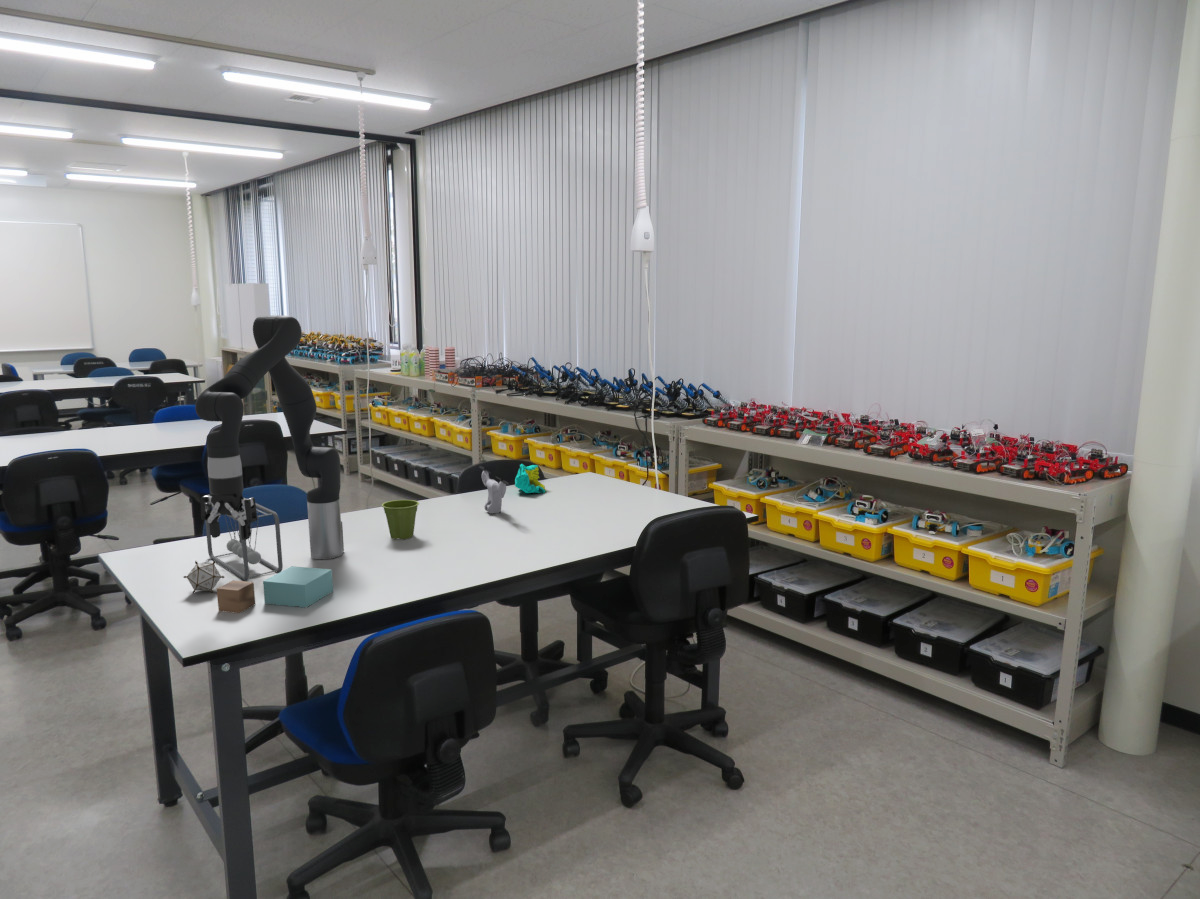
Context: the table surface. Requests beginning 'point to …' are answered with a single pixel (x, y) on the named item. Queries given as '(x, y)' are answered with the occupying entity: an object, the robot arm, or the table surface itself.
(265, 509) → the newton's cradle
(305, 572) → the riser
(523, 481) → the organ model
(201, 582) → the game die
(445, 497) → the table surface
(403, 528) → the plant pot
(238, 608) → the walnut cube
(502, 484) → the figurine
